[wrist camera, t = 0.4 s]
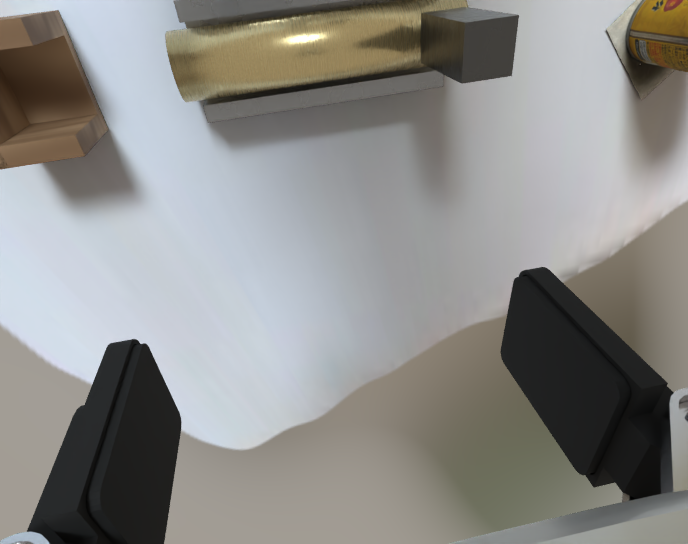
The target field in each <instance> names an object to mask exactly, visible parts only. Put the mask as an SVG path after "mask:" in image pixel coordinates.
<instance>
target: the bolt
mask: <svg viewBox="0 0 688 544" xmlns="http://www.w3.org/2000/svg"><path fill="white" fill-rule="evenodd" d="M518 18H519V15H515V14H509V13H502V12H495V11H488V10H482V9H475V8H468V4H467V1H466V0H398V1H390V2H383V3H375V4H368V5H360V6H353V7H345V8H338V9H331V10H323V11H316V12H308V13H301V14H293V15H286V16H278V17H271V18H263V19H256V20H248V21H241V22H233V23H226V24H218V25H211V26H204V27H196V28H189V29H181V30H174V31H167V32H166V35H165V37H166V47H167V52H168V57H169V61H170V65H171V69H172V72H173V75H174V78H175V81H176V84H177V87H178V89H179V92H180V94H181V96H182V98H183V100H184V101H185V102H193V101H199V100H206V99H213V98H219V97H226V96H233V95H240V94H246V93H253V92H260V91H266V90H273V89H280V88H286V87H293V86H300V85H306V84H313V83H320V82H326V81H333V80H340V79H346V78H353V77H360V76H366V75H373V74H380V73H386V72H393V71H400V70H406V69H413V68H420V67H426V66H428V67H430V68H432V69H434V70H436V71H438V72H440V73H442V74H444V75H446V76H448V77H450V78H452V79H454V80H456V81H458V82H460V83H468V82H475V81H481V80H488V79H494V78H500V77H507V76H512V69H513V60H514V52H515V43H516V35H517V27H518Z"/></svg>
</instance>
